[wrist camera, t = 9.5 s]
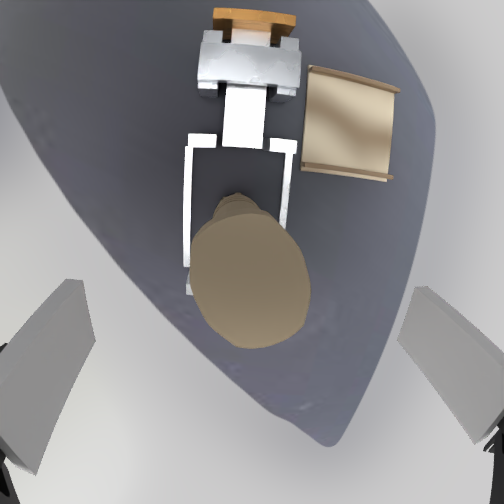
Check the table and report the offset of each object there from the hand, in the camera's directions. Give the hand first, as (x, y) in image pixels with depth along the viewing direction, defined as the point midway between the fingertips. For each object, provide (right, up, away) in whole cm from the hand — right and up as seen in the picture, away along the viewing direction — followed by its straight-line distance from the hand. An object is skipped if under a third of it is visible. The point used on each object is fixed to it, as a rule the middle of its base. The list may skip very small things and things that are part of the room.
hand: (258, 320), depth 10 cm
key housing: (-1, +18, +11) cm, 21 cm away
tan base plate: (+9, +14, +14) cm, 22 cm away
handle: (-2, +6, +16) cm, 17 cm away
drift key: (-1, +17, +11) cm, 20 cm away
